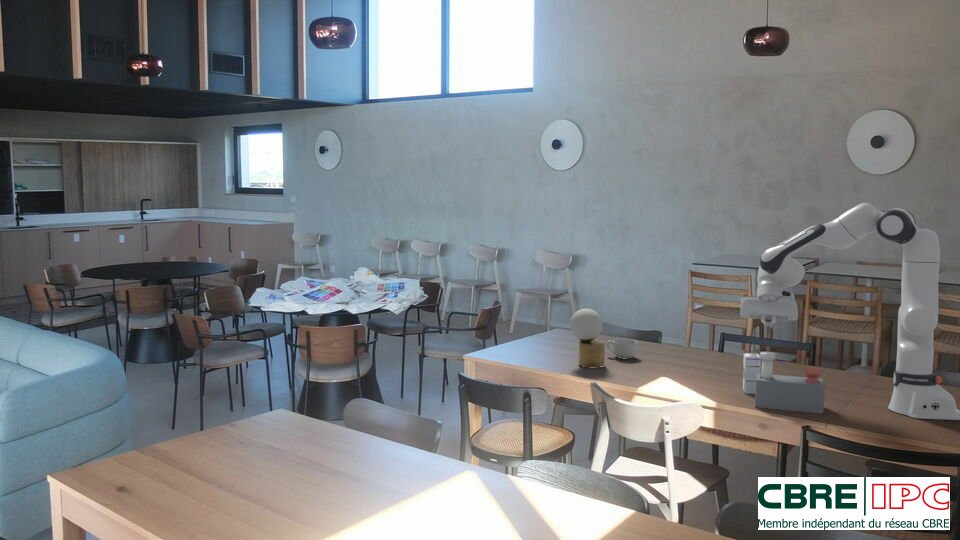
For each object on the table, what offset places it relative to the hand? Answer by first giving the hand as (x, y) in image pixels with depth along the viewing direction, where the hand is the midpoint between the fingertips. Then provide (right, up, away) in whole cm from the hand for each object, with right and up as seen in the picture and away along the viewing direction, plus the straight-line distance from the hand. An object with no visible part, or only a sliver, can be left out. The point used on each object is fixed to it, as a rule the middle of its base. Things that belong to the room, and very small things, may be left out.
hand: (768, 327), depth 279 cm
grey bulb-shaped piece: (-3, -23, -6) cm, 24 cm away
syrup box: (-2, -26, +11) cm, 28 cm away
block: (+4, -28, -8) cm, 29 cm away
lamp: (-59, -21, +54) cm, 83 cm away
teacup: (-41, -19, +69) cm, 83 cm away
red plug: (+11, -27, -11) cm, 32 cm away
